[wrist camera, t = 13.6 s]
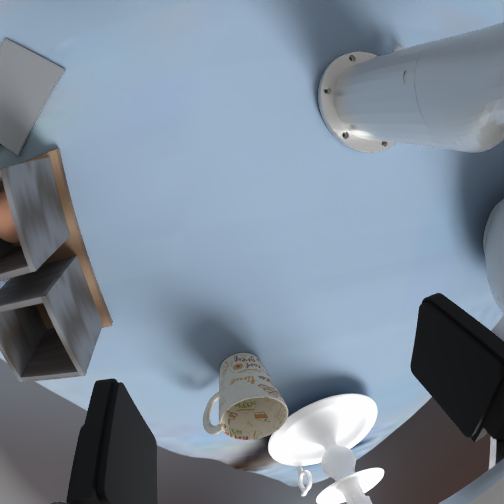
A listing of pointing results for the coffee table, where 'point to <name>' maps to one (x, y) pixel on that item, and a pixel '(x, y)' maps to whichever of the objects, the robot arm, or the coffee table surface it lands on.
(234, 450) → the coffee table surface
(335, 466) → the candlestick
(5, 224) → the ball
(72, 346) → the dark grey boxy container
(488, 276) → the decorative bowl
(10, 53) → the mat
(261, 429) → the mug
